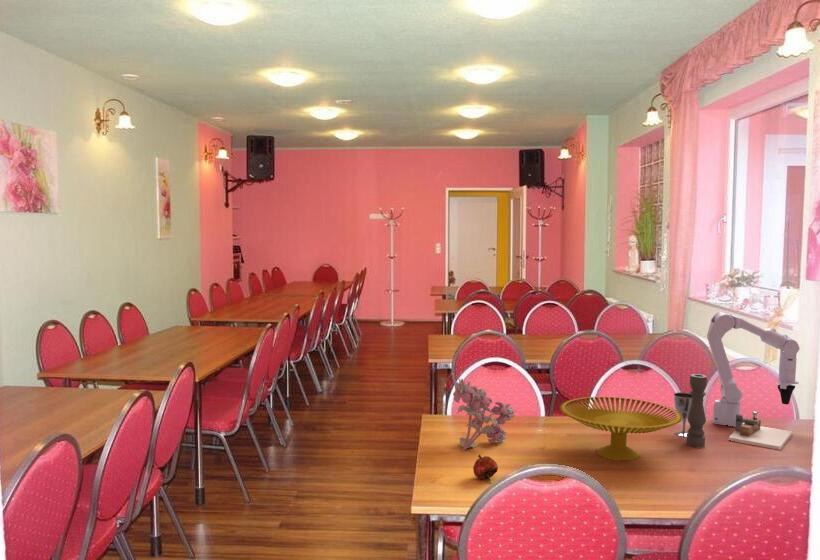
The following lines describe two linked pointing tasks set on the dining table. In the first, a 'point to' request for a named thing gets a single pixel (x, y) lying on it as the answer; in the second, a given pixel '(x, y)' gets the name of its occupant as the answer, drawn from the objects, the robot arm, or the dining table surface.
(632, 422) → the pedestal fruit bowl
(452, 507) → the dining table surface
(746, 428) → the walnut link
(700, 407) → the candle holder
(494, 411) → the flower
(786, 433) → the white plate
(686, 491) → the dining table surface
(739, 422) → the metal keeper
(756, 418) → the metal pin
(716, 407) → the robot arm
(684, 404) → the wine glass
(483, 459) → the pomegranate
